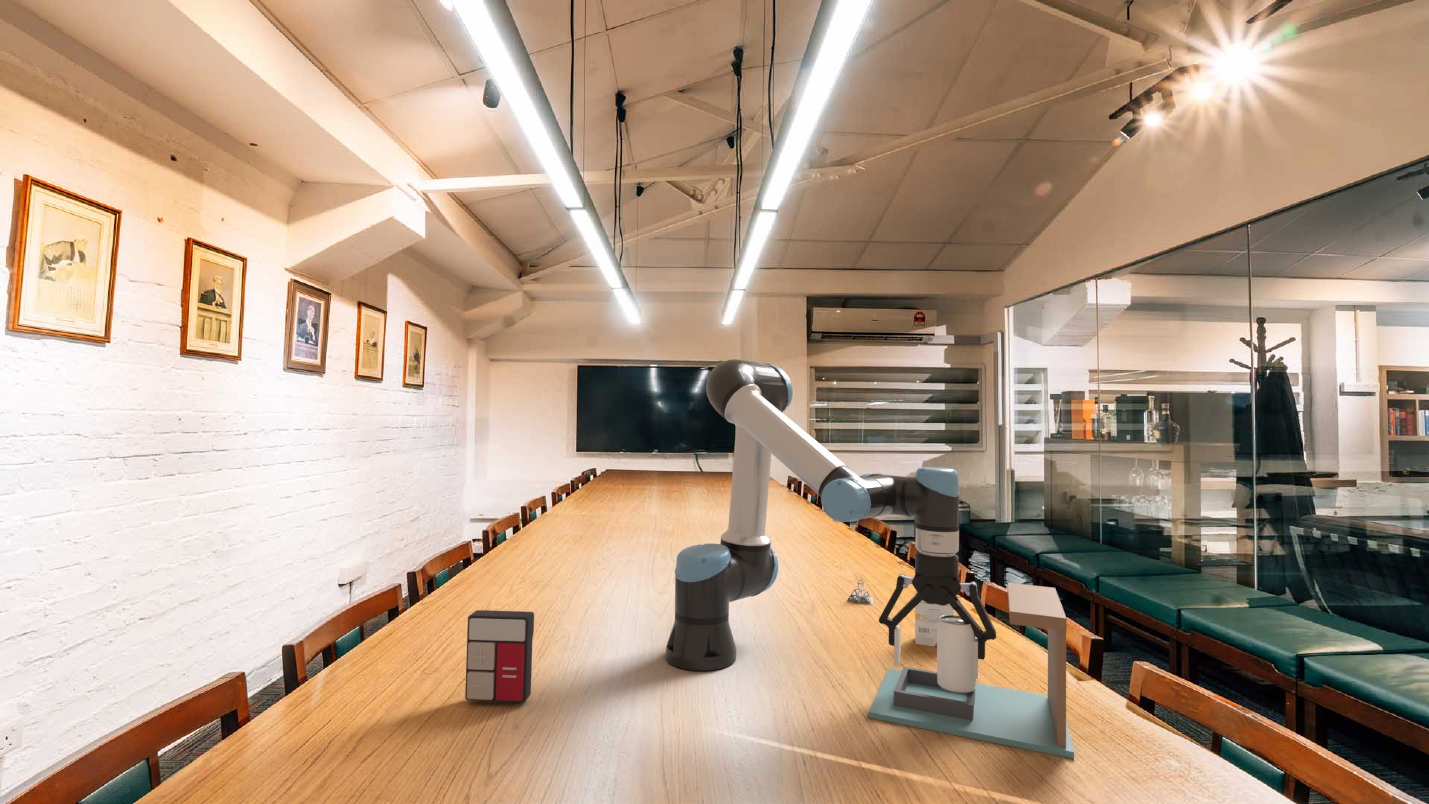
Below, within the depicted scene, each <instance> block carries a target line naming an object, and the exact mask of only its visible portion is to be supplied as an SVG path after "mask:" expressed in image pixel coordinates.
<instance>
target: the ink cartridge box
mask: <svg viewBox="0 0 1429 804" xmlns="http://www.w3.org/2000/svg"><path fill="white" fill-rule="evenodd" d="M916 593H917V591H916V590H915V594H916ZM914 609H915V611H914V612H915V613H914V615H915V616H914V618H915V620H914V621H915V622H914V623H915V626H914V628H915V629H914V634H915V635H914V636H915V637H914V639H915V640H914V643H915V644H916V645H921V646H922V645H923V646H930V647H935V648H937V626H938V624H939V622H940V617H941V616H944V615H955V610H954V609H953V608H952V607H951V605H950V604H947V605H945V606H941V605H938V604H927V603H926V602H924V601H923V600H922V601H921V602H920V603H919V604H918V605H917V606H916V607H915V608H914Z"/></svg>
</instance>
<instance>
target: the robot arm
mask: <svg viewBox="0 0 1429 804" xmlns="http://www.w3.org/2000/svg"><path fill="white" fill-rule="evenodd" d="M793 390H794V389H793V384H792V382H791V378H790V377H789V376H788V375H787V373H786V371H785V370H783V369H782V368H781V367H779V366H777V365H773V364H770V363H766V362H757V361H748V360H742V359H727V360H724V361H721V362H719V363H718V364H717V365H715V366H714V368H712V369H711V371H710V373H709V374H708V376H707V379H706V384H705V391H706V396H707V399H708V400H709V404H711V406H712V407H713V408H714V410H715V411H716V412H717V413H718V414H719V415H721V417H722V418H724V419H725V420H726V421H727V422H728V423H731V424H734V426H735V427H736V429H735V437H734V438H735V439H734V451H733V465H732V477H731V490H730V502H729V512H728V513H729V515H728V525H727V526H728V527H727V530H726V531H724V532H723V533H722V534H721V535H720V543H704V544H703V543H702V544H700V543H699V544H693V545H690V546H688V547H685V548H684V549H682V550H681V551H680V552H679V553H678V554H677V555H676V564H675V570H674V576H675V577H674V580H675V582H674V584H675V585H674V586H675V587H674V600H675V601H674V620H673V621H674V622H673V625H672V628H671V631H670V634H669V636H668V640H667V643H666V647H665V660H666V662H667V663H669V664H670V665H672V666H674V667H677V668H679V667H680V669H684V670H690V671H715V670H720V669H724V668H727V667H729V666H731V665H733V664H734V663H735V662H736V660H737V646H736V641H735V639H734V635H733V632H732V629H731V626H730V622H729V621H730V620H729V615H730V612H729V611H730V607H729V606H730V603H733V602H735V601H738V600H742V599H745V598H749V597H756V596H758V595H760V594H762V593H764V592H766V591H767V590H769V589H770V588H771V587H772V586H773V585H774V584H775V583H776V579H777V578H778V574H779V560H778V559H779V558H778V556H777V555H775V553H776V552H775V550H774V549H773V548H772V547H771V543H772V539H770V537H769V536H768V534H767V533H766V524H767V523H766V522H767V513H768V501H769V500H768V498H769V487H770V486H769V485H770V474H771V464H772V463H771V462H772V456H774V457H775V458H776V459H778V460H779V462H781V463H782V464H783V465H784V466H785V467H786V468H788V469H789V470H790V471H791V473H793V474H794V475H796V476H797V477H798V478H799V479H800V480H801V481H802V482H804V483H805V485H806V486H807V487H809V488H810V489H811V490H812V491H813V492H815V493H816V494H817V495H818V496H819V497H820V502H821V506H822V507H823V511H824V513H825V514H826V515H827V516H828V517H829V518H830V519H832V520H833V521H837V522H841V523H842V522H843V523H845V522H846V523H851V522H858V521H860V520H861V521H862V520H864V519H870V518H876V517H881V516H887V515H893V516H894V515H895V516H904V517H909V518H915V539H914V540H915V541H914V542H915V548H916V550H917V551H916V552H915V554H914V556H915V557H914V558H915V559H914V562H915V564H914V576H912V577H911V576H906V574H904V573H900V574H899V575H898V576H897V578H896V583H895V584H896V586H895V589H894V591H893V592H892V594H891V595H890V598H889V600H888V602H887V604H886V605H885V607H884V609H883V611H882V613H881V614H880V616H879V617H878V623H880V624H881V625H885V626H886V627H887V628H888V645H889V646H893V648H894V651H893V652H894V653H893V655H894V657H893V666H896V667H900V663H901V646H902V645H901V643H902V642H901V640H902V639H901V633H902V631H901V630H902V627H901V626H899V625H900V623H901V622H902V621H903V620H904V619H905V618H906V617H907V616H908V615H909V614H910V612H912V610H914V609H915V607H916V606H917V605H918V604H919V603H920V602H921V601H922V600H923V601H924V602H926V603H927V604H938V605H941V606H945V605H947V604H950V605H951V607H952V608H953V609H954V612H955V613H956V614H957V616H960V617H961V619H962V620H963V621H964V622H965V624H968V623H971V624H970V625H971V628H972V630H973V632H974V635H975V641H974V679H976V680H978V677H979V660H985V658H986V643H987V641H990V640H993V641H994V640H996V639H997V630H996V628H995V627H994V625H993V623H992V620H991V619H990V616H989V614H988V612H987V610H986V608H985V606H984V605H983V602H982V599H981V598H980V596H979V593H978V592H979V591H978V584H977V582H975V581H970V582H961V581H960V579H959V566H960V565H959V558H960V557H959V556H958V554H957V553H958V552H959V548H960V529H959V527H960V526H959V525H960V524H959V521H960V520H959V519H960V518H959V517H960V496H961V493H960V486H959V483H960V482H959V480H960V479H959V473H958V472H957V471H956V470H955V469H953V468H949V467H933V466H932V467H931V466H930V467H929V466H925V467H919V468H917V469H916V471H915V475H914V476H901V475H890V474H882V473H877V472H876V473H863V474H861V475H858V474H857V473H856V472H855V471H853V470H852V469H851V468H849V466H847V465H846V464H845V463H844V462H843V461H841V460H840V459H839V458H838V457H837V456H835V455H834V454H833V453H832V452H830V451H829V450H828V449H827V448H826V447H824V446H823V445H822V444H821V443H820V442H818V440H816V439H815V438H813V437H812V436H811V435H810V434H808V433H807V432H806V431H805V430H804V429H802V427H800V426H799V425H797V424H796V423H795V422H794V421H793V420H792V419H790V418H789V417H788V416H786V414H784V412H785V411H786V410H787V408H789V406H790V404H791V402H792V399H793ZM909 585H912V586H913V588H914V589H915V594H914V596H913V597H912V598H911V599H910V600H909V601H908V602H907V603H905V605H903V607H902V608H901V609H900V610H899V611H898V612H897V613H896V614H895V615H894V616H893V617H892V618H891V617H889V616H890V615H891V613H892V611H893V608H894V607H895V605H896V604H897V601H898V600H899V598H900V596H901V594H902V593H903V590H904V589H907V588H908V587H909ZM916 591H917V593H916ZM961 591H964V593H965V596H968V597H970V601H971V604H972V605H973V607H974V609H975V612H976V613H977V615H978V617H979V619H980V621H981V624H982V626H983V627H984V630H983V629H982V628H981V626H980V625H979V624H978V622H977V621H976V619H974V618H973V616H972V615H971V613H969V611H968V610H967V608H966V607H965V606H964V605H963V603H962V602H961V600H960V599H959V597H957V596H958V594H959V593H960V592H961Z"/></svg>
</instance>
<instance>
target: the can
mask: <svg viewBox="0 0 1429 804" xmlns="http://www.w3.org/2000/svg"><path fill="white" fill-rule="evenodd" d="M970 624H971V623H968V624H965V622H964V621H963V620H962V619H961V617H960V616H959V615H958V614H956V615H955V614H954V615H944V616H941V617H940V622H939V624H938V626H937V647H936V650H937V651H936V655H937V656H936V657H937V658H936V672H937V682H938V684H939V686H940V687H941V688H942V689H944V690H946V691H949V692H953V693H960V694H966V693H971V692H973V691H974V690H975V688H976V683H977V681H976V680H977V679H974V641H975V637H976V636H975V635H974V632H973V630H972V628H971V625H970Z"/></svg>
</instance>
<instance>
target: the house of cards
mask: <svg viewBox="0 0 1429 804" xmlns="http://www.w3.org/2000/svg"><path fill="white" fill-rule="evenodd" d="M860 585H862V586H861V587H862V588H861V589H860ZM846 602H850V603H857V604H863V605H869V606H871V605H873V604H874V603H875V601H874V599H873V597H872V595H870V594H869V591H868V590H866V589H865V582H864V580H863V578H862V577H860V579H859V580H858V581H857V588H854V589H853V590H852V592H851V594H849V596H848V599H846Z"/></svg>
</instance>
